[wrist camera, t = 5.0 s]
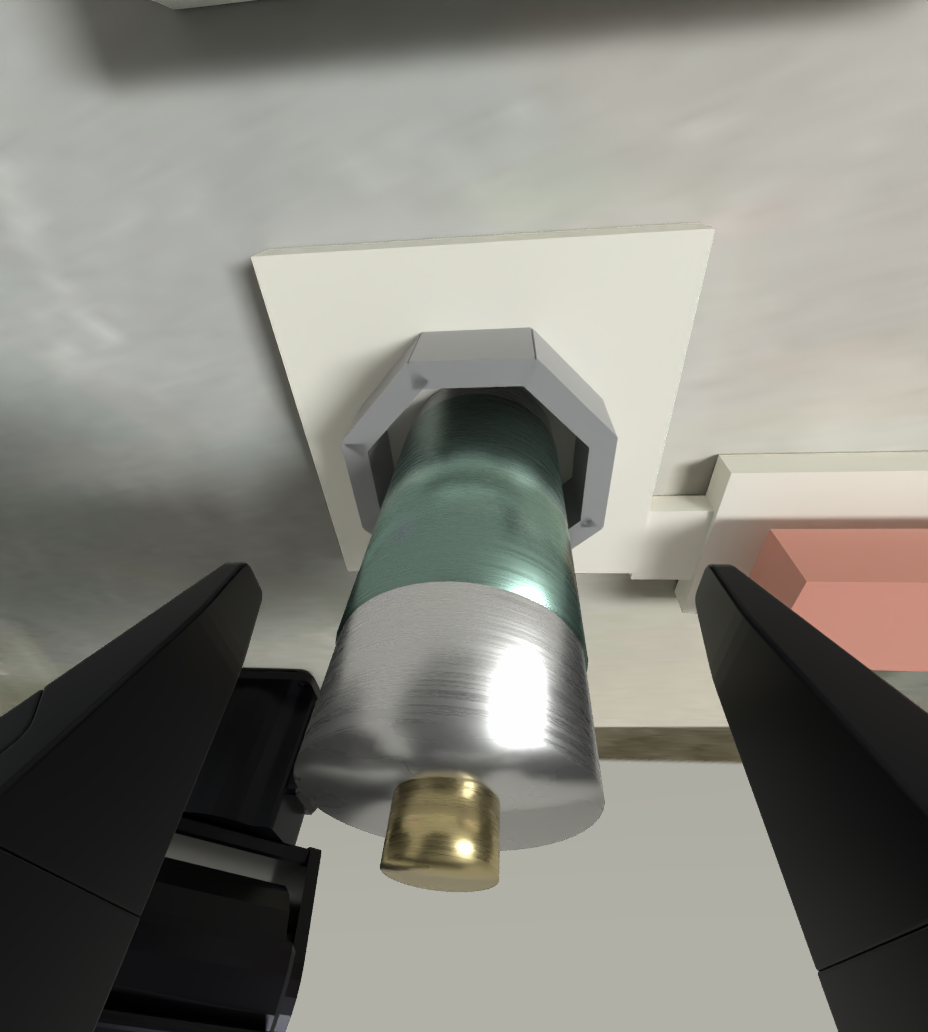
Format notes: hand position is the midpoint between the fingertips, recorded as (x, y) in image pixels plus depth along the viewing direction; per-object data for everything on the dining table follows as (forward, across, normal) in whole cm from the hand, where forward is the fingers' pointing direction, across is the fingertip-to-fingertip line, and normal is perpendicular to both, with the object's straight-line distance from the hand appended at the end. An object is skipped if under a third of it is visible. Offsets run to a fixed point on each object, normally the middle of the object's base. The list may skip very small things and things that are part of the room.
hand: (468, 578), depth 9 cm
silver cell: (+5, 0, 0) cm, 5 cm away
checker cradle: (+6, -8, +1) cm, 10 cm away
